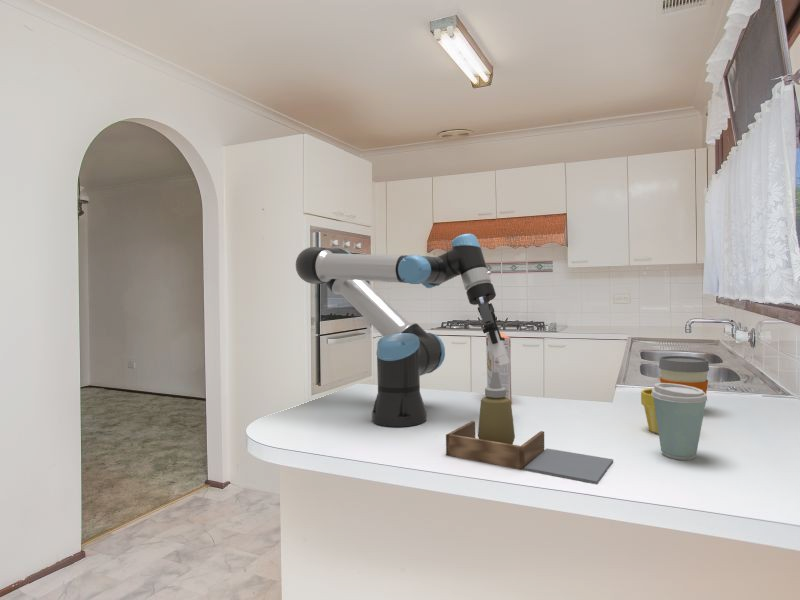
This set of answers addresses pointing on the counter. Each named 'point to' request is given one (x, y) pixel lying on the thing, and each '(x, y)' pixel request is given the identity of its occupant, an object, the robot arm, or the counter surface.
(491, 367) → the cracker box
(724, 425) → the counter surface
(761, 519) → the counter surface
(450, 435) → the walnut nook
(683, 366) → the reusable coffee cup
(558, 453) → the slate mat
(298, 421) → the counter surface
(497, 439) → the squeeze bottle
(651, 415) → the plant pot
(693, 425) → the disposable coffee cup
